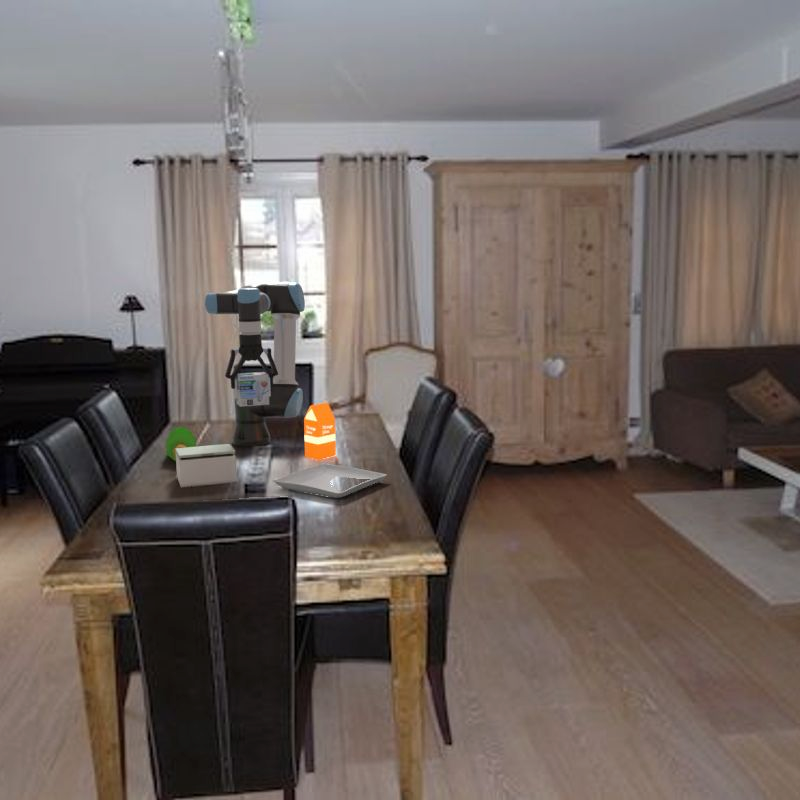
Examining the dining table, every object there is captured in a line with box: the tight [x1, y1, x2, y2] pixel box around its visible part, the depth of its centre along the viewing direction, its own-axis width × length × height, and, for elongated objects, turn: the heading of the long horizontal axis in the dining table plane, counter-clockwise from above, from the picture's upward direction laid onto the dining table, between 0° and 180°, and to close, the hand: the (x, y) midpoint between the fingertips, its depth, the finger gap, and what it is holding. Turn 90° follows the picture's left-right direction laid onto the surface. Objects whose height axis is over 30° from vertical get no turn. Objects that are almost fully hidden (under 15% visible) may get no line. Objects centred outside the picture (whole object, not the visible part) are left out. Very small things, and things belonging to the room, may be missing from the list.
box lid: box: [175, 443, 236, 458], centre depth 271 cm, size 18×14×1 cm
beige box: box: [175, 453, 237, 489], centre depth 272 cm, size 18×14×9 cm
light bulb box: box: [235, 371, 269, 407], centre depth 282 cm, size 11×7×11 cm, turn 113°
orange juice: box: [303, 402, 337, 461], centre depth 302 cm, size 8×9×20 cm
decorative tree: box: [165, 426, 197, 462], centre depth 304 cm, size 11×12×30 cm
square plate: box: [272, 463, 388, 499], centre depth 264 cm, size 27×27×4 cm
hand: (252, 396), depth 282 cm, fingers closed on light bulb box, 11 cm apart
